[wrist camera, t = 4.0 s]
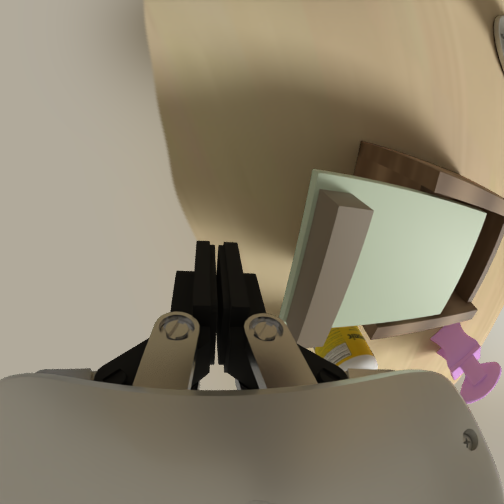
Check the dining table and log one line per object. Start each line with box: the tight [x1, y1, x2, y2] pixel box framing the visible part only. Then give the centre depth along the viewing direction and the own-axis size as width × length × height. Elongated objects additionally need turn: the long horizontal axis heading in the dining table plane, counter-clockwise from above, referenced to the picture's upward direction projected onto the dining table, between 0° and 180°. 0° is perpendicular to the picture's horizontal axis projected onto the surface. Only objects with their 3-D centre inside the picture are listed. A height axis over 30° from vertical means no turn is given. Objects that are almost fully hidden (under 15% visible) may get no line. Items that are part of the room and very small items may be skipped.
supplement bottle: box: [313, 326, 378, 371], centre depth 25 cm, size 5×5×10 cm
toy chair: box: [430, 323, 501, 404], centre depth 31 cm, size 8×9×15 cm
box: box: [354, 141, 504, 340], centre depth 19 cm, size 14×12×9 cm
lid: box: [279, 169, 487, 348], centre depth 14 cm, size 14×9×3 cm, turn 83°
